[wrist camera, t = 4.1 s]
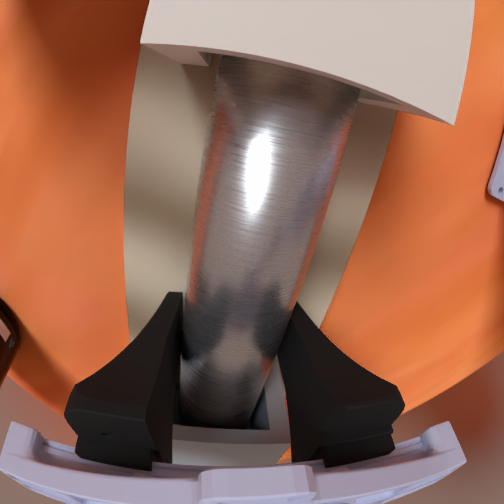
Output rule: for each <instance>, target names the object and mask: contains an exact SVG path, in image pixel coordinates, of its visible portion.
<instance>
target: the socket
mask: <svg viewBox="0 0 504 504" xmlns="http://www.w3.org/2000/svg"><path fill="white" fill-rule="evenodd" d="M179 396H180V391H178V390H175V392H174V407H173V436H172V464H180V465H197V466H259V465H275V464H276V462H277V461H278V460H279V459H280V458H281V456H282V455H283V454H284V453H285V452H286V450H287V449H288V448H289V447H290V445H291V439H290V427H289V421H288V415H287V410H286V404H285V399H284V393H283V388H282V382H281V377H280V371H279V366H278V361H277V360H274V362H273V364H272V367H271V369H270V372H269V374H268V377H267V379H266V381H265V384H264V386H263V389H262V391H261V394H260V396H259V398H258V401H257V403H256V405H255V408H254V410H253V412H252V416H251V419H250V422H249V424H248V426H247V428H246V429H245V430H238V429H216V428H202V427H190V426H181V423H180V419H179V414H178V401H179Z"/></svg>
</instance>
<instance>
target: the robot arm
mask: <svg viewBox="0 0 504 504" xmlns="http://www.w3.org/2000/svg"><path fill="white" fill-rule="evenodd" d="M488 193H489V194H490V195H491V196H493V197H495V198H497V199H499V200H501V201H503V202H504V134H503V138H502V142H501V146H500V149H499V153H498V156H497V159H496V163H495V166H494V169H493V172H492V175H491V178H490V181H489V184H488ZM183 320H184V311H183V292H170V291H169V292H168V293H167V294H166V296H165V298H164V299H163V301H162V303H161V304H160V306H159V307H158V309H157V310H156V312H155V313H154V315H153V316H152V317H151V319H150V320H149V322H148V323H147V324H146V325H145V327H144V328H143V329H142V330H141V332H140V333H139V334H138V335H137V336H136V337H135V339H134V340H133V341H132V342H131V343H130V344H129V345H128V346H127V347H126V348H125V349H124V350H123V351H122V352H121V353H120V354H119V355H117V356H116V357H115V358H114V359H113V360H112V361H110V362H109V363H108V364H106V365H105V366H104V367H102V368H101V369H100V370H98V371H97V372H96V373H94V374H93V375H91V376H89V377H88V378H86V379H84V380H83V381H81V382H79V383H77V384H75V386H74V388H73V390H72V392H71V394H70V396H69V399H68V402H67V406H66V409H65V412H64V417H65V419H66V421H67V422H68V424H69V425H70V426H71V428H72V429H73V430H74V431H75V433H76V434H77V435H78V439H77V443H76V447H72V446H68V445H65V444H61V443H58V442H55V441H51V440H48V439H45V438H43V436H42V435H41V434H40V433H39V432H38V431H37V430H35V429H33V428H31V427H29V426H26V425H23V424H20V423H17V422H15V421H12V422H11V424H10V427H9V430H8V433H7V436H6V439H5V443H4V446H3V449H2V452H1V456H0V470H1V471H2V472H3V473H5V474H6V475H8V476H9V477H11V478H12V479H14V480H15V481H17V482H18V483H20V484H21V485H23V486H24V487H26V488H28V489H30V490H33V491H35V492H38V493H40V494H43V495H45V496H48V497H50V498H53V499H56V500H58V501H61V502H64V503H67V504H383V503H386V502H389V501H392V500H394V499H397V498H400V497H402V496H405V495H407V494H410V493H412V492H415V491H417V490H419V489H422V488H424V487H426V486H429V485H431V484H433V483H436V482H437V481H439V480H441V479H442V478H444V477H445V476H447V475H448V474H450V473H451V472H453V471H454V470H456V469H457V468H459V467H460V466H461V465H463V464H464V463H466V458H465V456H464V453H463V451H462V449H461V447H460V444H459V442H458V440H457V438H456V435H455V433H454V431H453V429H452V426H451V424H450V422H449V421H446V422H443V423H440V424H438V425H435V426H432V427H430V428H428V429H427V430H425V431H424V432H423V433H422V434H421V435H420V436H419V437H416V438H413V439H410V440H407V441H403V442H400V443H396V444H394V442H393V439H392V436H391V434H392V433H393V429H392V426H391V424H392V423H393V422H394V421H395V420H396V419H397V418H398V417H399V415H400V414H401V413H402V411H403V410H404V407H405V403H404V401H403V398H402V396H401V394H400V392H399V390H398V388H397V386H396V385H394V384H392V383H390V382H388V381H386V380H383V379H381V378H379V377H378V376H376V375H374V374H373V373H371V372H369V371H368V370H366V369H364V368H363V367H361V366H360V365H359V364H357V363H356V362H354V361H353V360H352V359H350V358H349V357H348V356H347V355H345V354H344V353H343V352H342V351H341V350H340V349H338V348H337V347H336V346H335V345H334V344H333V343H332V342H331V341H330V340H329V339H328V338H327V337H326V336H325V335H324V334H323V333H322V332H321V330H320V329H319V328H318V327H317V326H316V325H315V323H314V322H313V321H312V320H311V319H310V317H309V316H308V315H307V314H306V312H305V311H304V310H303V308H302V307H301V306H300V304H299V303H298V302H297V301H296V304H295V307H294V309H293V312H292V315H291V317H290V320H289V323H288V325H287V328H286V331H285V333H284V336H283V339H282V341H281V344H280V346H279V349H278V352H277V357H278V362H279V366H280V370H281V374H282V378H283V382H284V386H285V392H286V398H287V407H288V416H289V426H290V439H291V456H292V463H287V464H275V465H259V466H197V465H180V464H172V436H173V407H174V392H175V384H176V379H177V373H178V368H179V363H180V357H181V351H182V334H183Z"/></svg>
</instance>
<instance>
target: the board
mask: <svg viewBox="0 0 504 504" xmlns="http://www.w3.org/2000/svg"><path fill="white" fill-rule="evenodd" d="M220 56H221V54H216V53H212V56H211V61H210V65H209V67H208V66H199V65H190V64H181V63H179V62H177V61H175V60H173V59H171V58H169V57H167V56H165V55H163V54H161V53H159V52H157V51H155V50H153V49H151V48H149V47H147V46H145V45H143V44H141V48H140V53H139V58H138V64H137V70H136V76H135V82H134V89H133V96H132V103H131V111H130V120H129V129H128V140H127V152H126V166H125V185H124V269H125V289H126V303H127V315H128V326H129V336H130V343H131V342H132V341H133V340H134V339H135V337H136V336H137V335H138V334H139V333H140V332H141V330H142V329H143V328H144V327H145V325H146V324H147V323H148V322H149V320H150V319H151V317H152V316H153V315H154V313H155V312H156V310H157V309H158V307H159V306H160V304H161V303H162V301H163V299H164V298H165V296H166V294H167V293H168V292H169V291H170V292H183V311H184V306H185V294H186V283H187V272H188V262H189V252H190V243H191V234H192V226H193V218H194V210H195V202H196V194H197V187H198V180H199V173H200V166H201V160H202V153H203V147H204V141H205V135H206V129H207V123H208V117H209V112H210V106H211V101H212V96H213V90H214V85H215V80H216V75H217V70H218V65H219V61H220ZM397 111H398V110H395V109H390V108H386V107H381V106H376V105H371V104H366V103H362V102H359V101H358V103H357V107H356V111H355V115H354V118H353V122H352V126H351V130H350V133H349V137H348V141H347V144H346V148H345V152H344V155H343V159H342V162H341V166H340V169H339V173H338V176H337V179H336V183H335V186H334V189H333V193H332V196H331V199H330V203H329V206H328V209H327V212H326V215H325V219H324V222H323V225H322V228H321V231H320V234H319V237H318V240H317V243H316V246H315V249H314V252H313V255H312V258H311V261H310V264H309V267H308V270H307V273H306V276H305V279H304V281H303V284H302V287H301V290H300V293H299V296H298V298H297V302H298V303H299V304H300V306H301V307H302V308H303V310H304V311H305V312H306V314H307V315H308V316H309V317H310V319H311V320H312V321H313V322H314V323H315V325H316V326H317V327H318V328H320V325H321V323H322V321H323V319H324V317H325V314H326V312H327V310H328V308H329V305H330V303H331V301H332V298H333V296H334V294H335V291H336V289H337V287H338V284H339V282H340V280H341V277H342V275H343V272H344V270H345V267H346V265H347V262H348V260H349V257H350V255H351V252H352V250H353V247H354V244H355V242H356V239H357V237H358V234H359V231H360V229H361V226H362V223H363V220H364V218H365V215H366V212H367V209H368V206H369V203H370V200H371V198H372V195H373V192H374V189H375V186H376V183H377V180H378V176H379V173H380V170H381V167H382V164H383V161H384V157H385V154H386V151H387V147H388V144H389V140H390V137H391V133H392V130H393V126H394V122H395V119H396V115H397ZM274 360H277V361H278V357H277V354H276V357H275V359H274ZM278 366H279V362H278ZM180 370H181V357H180V363H179V368H178V373H177V379H176V384H175V390H178V391H180ZM279 371H280V377H281V382H282V388H283V393H284V398H285V396H286V392H285V386H284V382H283V378H282V374H281V370H280V366H279Z"/></svg>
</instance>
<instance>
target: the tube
mask: <svg viewBox="0 0 504 504" xmlns="http://www.w3.org/2000/svg"><path fill="white" fill-rule="evenodd" d="M360 91H361V88H358V87H355V86H352V85H349V84H346V83H343V82H340V81H337V80H334V79H330V78H327V77H324V76H320V75H317V74H313V73H310V72H306V71H302V70H299V69H295V68H291V67H286V66H282V65H278V64H273V63H269V62H264V61H259V60H254V59H248V58H242V57H237V56H230V55H223V54H221V56H220V61H219V65H218V70H217V75H216V80H215V85H214V90H213V96H212V101H211V106H210V112H209V117H208V123H207V129H206V135H205V141H204V147H203V153H202V160H201V166H200V173H199V180H198V187H197V194H196V202H195V210H194V218H193V226H192V234H191V243H190V252H189V262H188V272H187V283H186V294H185V306H184V320H183V334H182V351H181V370H180V396H179V401H178V414H179V419H180V423H181V426H190V427H202V428H216V429H238V430H245V429H246V428H247V426H248V424H249V422H250V419H251V416H252V412H253V410H254V408H255V405H256V403H257V401H258V398H259V396H260V394H261V391H262V389H263V386H264V384H265V381H266V379H267V377H268V374H269V372H270V369H271V367H272V364H273V362H274V359H275V357H276V354H277V352H278V349H279V346H280V344H281V341H282V339H283V336H284V333H285V331H286V328H287V325H288V323H289V320H290V317H291V315H292V312H293V309H294V307H295V304H296V301H297V298H298V296H299V293H300V290H301V287H302V284H303V281H304V279H305V276H306V273H307V270H308V267H309V264H310V261H311V258H312V255H313V252H314V249H315V246H316V243H317V240H318V237H319V234H320V231H321V228H322V225H323V222H324V219H325V215H326V212H327V209H328V206H329V203H330V199H331V196H332V193H333V189H334V186H335V183H336V179H337V176H338V173H339V169H340V166H341V162H342V159H343V155H344V152H345V148H346V144H347V141H348V137H349V133H350V130H351V126H352V122H353V118H354V115H355V111H356V107H357V103H358V99H359V95H360Z"/></svg>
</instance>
